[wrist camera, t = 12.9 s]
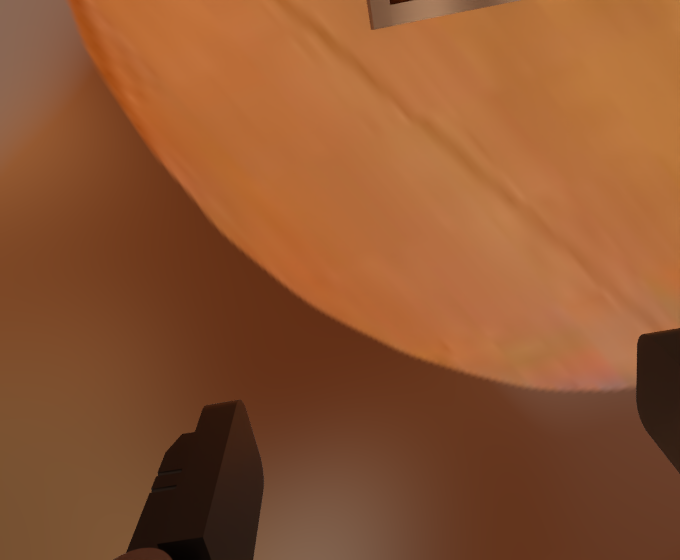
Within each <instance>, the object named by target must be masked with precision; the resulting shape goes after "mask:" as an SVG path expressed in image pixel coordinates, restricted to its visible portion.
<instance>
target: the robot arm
mask: <svg viewBox="0 0 680 560" xmlns="http://www.w3.org/2000/svg"><path fill="white" fill-rule="evenodd" d="M636 390H637V391H636V402H637V409H638V413H639V416H640V419H641V422H642V424H643V426H644V428H645V429H646V431H647V432H648V434H649V435H650V436H651V437H652V439H653V440H654V441H655V443H656V444H657V445H658V447H659V448H660V449H661V450H662V452H663V453H664V454H665V455H666V457H667V458H668V459H669V460H670V462H671V463H672V464H673V465H674V467H675V468H676V469H677V471H678V472H679V473H680V328H678V329H672V330H666V331H660V332H654V333H647V334H642V335H641V336H640V337H639V339H638V343H637V386H636ZM151 489H152V493H150V494H149V496H148V499H147V501H146V504H145V506H144V509H143V511H142V514H141V517H140V519H139V521H138V524H137V527H136V529H135V532H134V534H133V537H132V539H131V542H130V544H129V547H128V550H127V552H126V553H125V554H123V555H121V556H119V557H117V558H115V559H114V560H253V557H254V550H255V543H256V536H257V530H258V522H259V516H260V509H261V503H262V496H263V489H264V476H263V467H262V462H261V457H260V454H259V451H258V447H257V444H256V441H255V437H254V434H253V431H252V427H251V424H250V421H249V417H248V414H247V411H246V408H245V405H244V403H243V402H242V401H241V400H235V401H229V402H223V403H217V404H212V405H206V406H204V408H203V410H202V413H201V416H200V419H199V421H198V425H197V427H196V430H195V432H193V433H186V434H182V435H181V436H180V437H179V438H178V439H177V440H176V442H175V443H174V444H173V445H172V446H171V447H170V448H169V449H168V450H167V452H166V453H165V455H164V458H163V461H162V463H161V466H160V468H159V471H158V476H157V477H156V478H155V481H154V483H153V486H152V488H151Z"/></svg>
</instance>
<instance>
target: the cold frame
mask: <svg viewBox="0 0 680 560" xmlns="http://www.w3.org/2000/svg"><path fill="white" fill-rule="evenodd" d="M514 1H519V0H412V1H408V2H403V3H398V4H393V5H390V0H367V5H368V12H369V18H370V25H371V30H374V29H379V28H384V27H389V26H394V25H399V24H404V23H409V22H414V21H419V20H424V19H429V18H434V17H439V16H444V15H449V14H454V13H459V12H464V11H469V10H474V9H479V8H484V7H489V6H494V5H499V4H504V3H509V2H514Z"/></svg>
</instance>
